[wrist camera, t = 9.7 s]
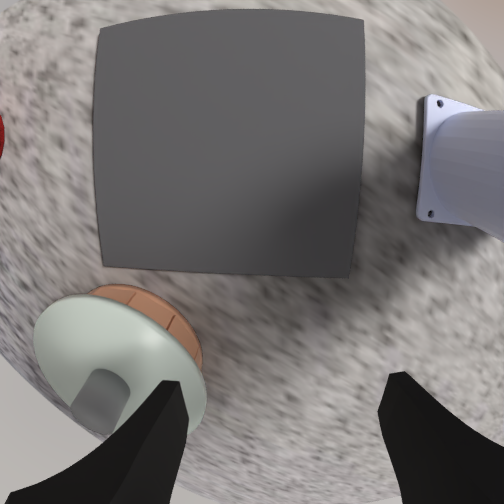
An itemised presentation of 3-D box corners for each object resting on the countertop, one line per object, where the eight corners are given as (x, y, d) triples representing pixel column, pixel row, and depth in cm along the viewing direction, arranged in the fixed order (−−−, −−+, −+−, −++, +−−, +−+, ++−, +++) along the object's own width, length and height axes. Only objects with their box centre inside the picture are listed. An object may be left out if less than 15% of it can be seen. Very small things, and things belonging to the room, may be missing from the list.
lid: (194, 299, 16) (174, 346, 12) (216, 444, 20) (209, 486, 16) (17, 287, 16) (-19, 315, 13) (73, 417, 21) (55, 449, 17)
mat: (361, 22, 14) (363, 20, 13) (346, 274, 19) (348, 278, 19) (103, 30, 14) (100, 28, 14) (107, 263, 20) (103, 266, 19)
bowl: (198, 289, 20) (183, 323, 16) (206, 403, 24) (199, 439, 20) (62, 278, 20) (32, 302, 17) (93, 383, 24) (76, 412, 20)
